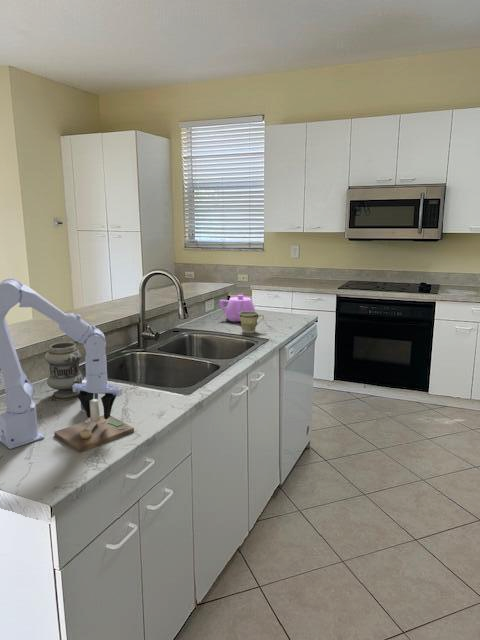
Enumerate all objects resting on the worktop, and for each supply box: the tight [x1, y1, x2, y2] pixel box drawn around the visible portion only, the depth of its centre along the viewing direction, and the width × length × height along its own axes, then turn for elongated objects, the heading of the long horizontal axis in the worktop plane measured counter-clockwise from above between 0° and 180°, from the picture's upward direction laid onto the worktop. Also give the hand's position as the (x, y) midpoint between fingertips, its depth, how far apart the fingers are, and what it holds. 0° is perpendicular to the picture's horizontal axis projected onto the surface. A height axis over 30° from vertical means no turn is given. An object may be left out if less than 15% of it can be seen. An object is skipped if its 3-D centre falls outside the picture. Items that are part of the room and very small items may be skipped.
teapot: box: [218, 294, 256, 323], centre depth 278 cm, size 23×21×15 cm
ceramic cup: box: [239, 311, 265, 334], centre depth 254 cm, size 13×10×10 cm
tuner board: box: [53, 414, 135, 453], centre depth 137 cm, size 17×14×1 cm
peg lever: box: [80, 398, 101, 439], centre depth 135 cm, size 11×3×7 cm, turn 178°
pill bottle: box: [80, 378, 99, 413], centre depth 153 cm, size 5×5×10 cm
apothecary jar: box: [44, 341, 85, 401], centre depth 164 cm, size 12×12×18 cm
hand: (98, 416), depth 139 cm, fingers open, 5 cm apart
